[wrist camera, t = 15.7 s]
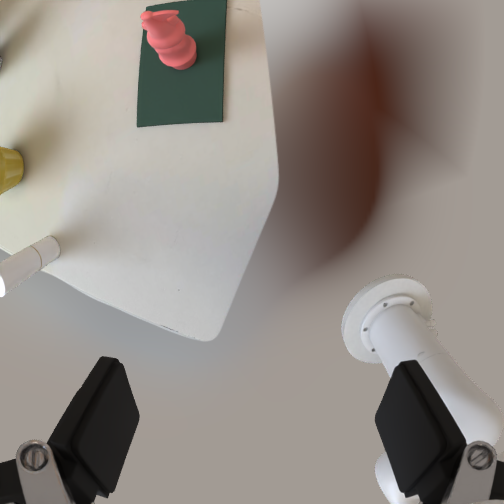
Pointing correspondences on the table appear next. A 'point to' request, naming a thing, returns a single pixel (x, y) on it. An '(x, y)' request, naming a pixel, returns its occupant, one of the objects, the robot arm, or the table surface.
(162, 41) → the figurine
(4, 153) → the flower pot
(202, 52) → the mat
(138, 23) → the table surface
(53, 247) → the tube
